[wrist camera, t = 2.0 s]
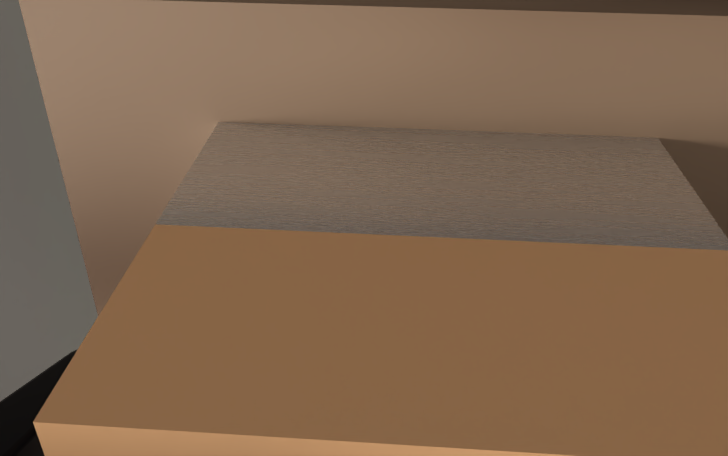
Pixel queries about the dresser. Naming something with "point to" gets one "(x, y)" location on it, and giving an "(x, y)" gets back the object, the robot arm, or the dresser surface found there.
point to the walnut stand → (359, 85)
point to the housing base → (443, 186)
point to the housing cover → (398, 349)
